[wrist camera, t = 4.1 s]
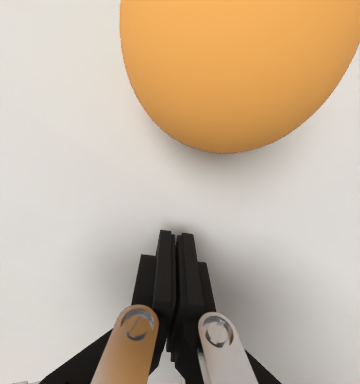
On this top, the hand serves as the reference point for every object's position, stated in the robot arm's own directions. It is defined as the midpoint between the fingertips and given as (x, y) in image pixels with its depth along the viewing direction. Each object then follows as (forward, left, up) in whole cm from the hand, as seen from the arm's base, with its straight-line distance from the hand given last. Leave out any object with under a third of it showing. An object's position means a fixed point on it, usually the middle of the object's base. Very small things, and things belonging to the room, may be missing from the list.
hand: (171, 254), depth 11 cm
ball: (+9, 0, +1) cm, 9 cm away
